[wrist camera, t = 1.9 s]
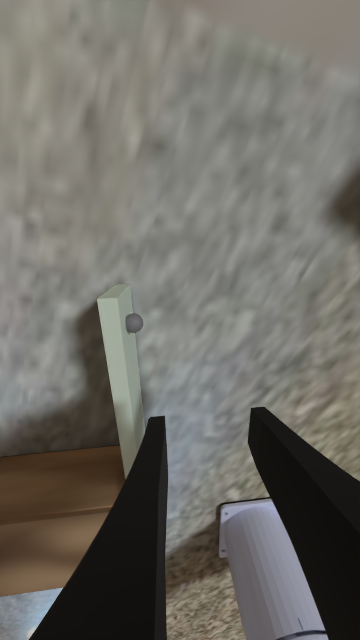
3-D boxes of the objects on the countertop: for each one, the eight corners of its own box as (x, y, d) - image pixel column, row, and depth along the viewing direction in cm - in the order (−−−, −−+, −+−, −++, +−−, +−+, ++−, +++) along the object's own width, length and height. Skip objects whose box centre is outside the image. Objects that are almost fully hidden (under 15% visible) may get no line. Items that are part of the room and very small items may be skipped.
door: (156, 434, 19) (155, 487, 15) (134, 436, 19) (127, 490, 15) (143, 283, 15) (137, 297, 11) (115, 284, 15) (96, 298, 11)
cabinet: (152, 504, 23) (149, 581, 18) (4, 523, 22) (-46, 610, 17) (144, 433, 20) (138, 500, 14) (-30, 450, 19) (-105, 529, 13)
